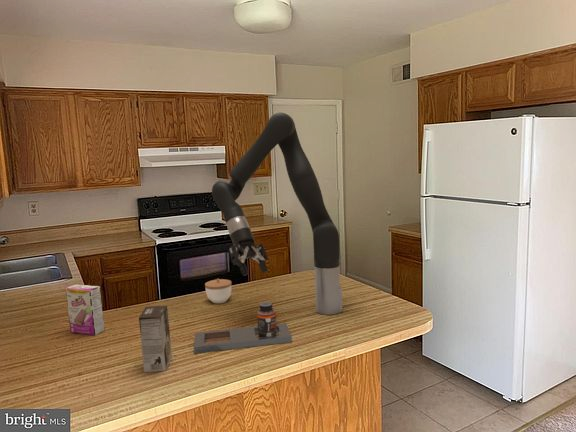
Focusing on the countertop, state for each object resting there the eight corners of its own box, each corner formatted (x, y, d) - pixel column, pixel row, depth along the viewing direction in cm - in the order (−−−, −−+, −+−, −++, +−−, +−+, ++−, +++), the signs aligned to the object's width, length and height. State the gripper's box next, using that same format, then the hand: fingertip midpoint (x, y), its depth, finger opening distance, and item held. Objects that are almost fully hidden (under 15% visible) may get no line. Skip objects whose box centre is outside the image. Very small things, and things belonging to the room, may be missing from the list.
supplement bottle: (274, 341, 137) (272, 307, 136) (256, 341, 139) (254, 306, 137) (278, 334, 143) (276, 301, 142) (261, 333, 144) (259, 300, 143)
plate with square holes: (286, 328, 148) (285, 322, 147) (291, 342, 137) (291, 336, 136) (195, 338, 143) (195, 332, 143) (194, 353, 132) (193, 347, 132)
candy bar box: (69, 333, 152) (64, 288, 150) (80, 327, 157) (75, 283, 155) (95, 336, 149) (89, 289, 147) (105, 330, 153) (100, 285, 151)
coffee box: (150, 358, 130) (145, 306, 128) (172, 356, 131) (167, 304, 129) (143, 372, 121) (137, 317, 119) (166, 370, 122) (161, 315, 120)
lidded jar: (221, 306, 172) (219, 283, 171) (200, 303, 178) (199, 280, 177) (237, 298, 181) (236, 276, 180) (218, 295, 187) (216, 274, 186)
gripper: (229, 227, 147) (246, 271, 141) (261, 226, 157) (277, 266, 151) (218, 237, 151) (233, 280, 146) (249, 235, 161) (264, 275, 156)
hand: (255, 273), depth 149 cm, fingers open, 8 cm apart
